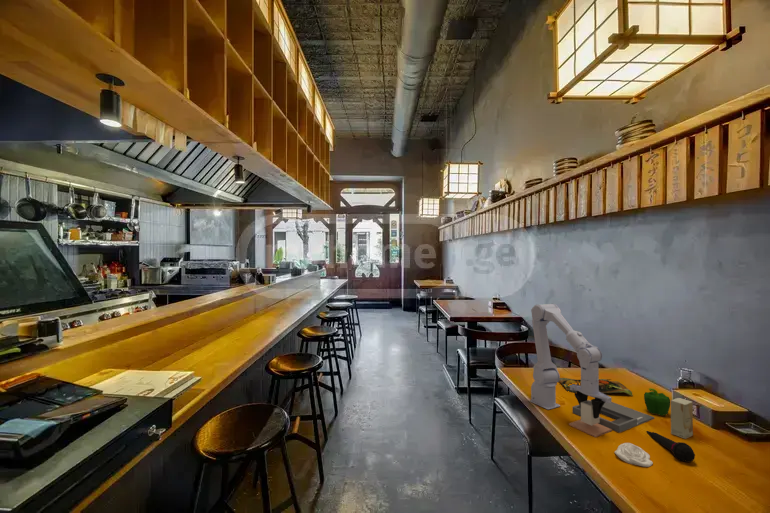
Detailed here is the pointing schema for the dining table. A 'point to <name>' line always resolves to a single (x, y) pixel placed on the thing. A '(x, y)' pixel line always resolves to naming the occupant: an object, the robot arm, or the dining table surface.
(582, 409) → the block
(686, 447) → the microphone
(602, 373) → the dining table surface
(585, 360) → the robot arm
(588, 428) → the terracotta tile
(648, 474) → the dining table surface
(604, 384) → the prepared meal
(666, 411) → the bell pepper
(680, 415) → the skincare box
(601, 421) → the equipment case
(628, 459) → the rose
